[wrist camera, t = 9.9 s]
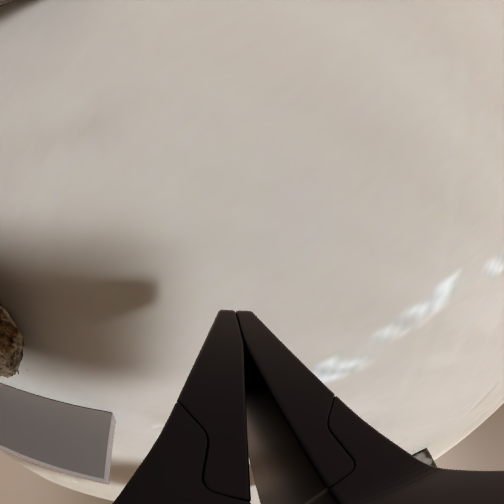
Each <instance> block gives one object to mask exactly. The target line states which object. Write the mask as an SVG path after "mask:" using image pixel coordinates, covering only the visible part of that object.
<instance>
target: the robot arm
mask: <svg viewBox="0 0 504 504" xmlns="http://www.w3.org/2000/svg"><path fill="white" fill-rule="evenodd" d="M248 455H249V456H248ZM249 459H250V464H251V468H252V472H253V476H254V480H255V484H256V488H257V491H258V495H259V499H260V503H261V504H504V471H467V470H451V469H442V468H437V467H434V466H431V465H428V464H426V463H424V462H422V461H420V460H418V459H417V458H415V457H414V456H412V455H411V454H409V453H408V452H406V451H405V450H403V449H402V448H400V447H399V446H398V445H396V444H395V443H393V442H392V441H390V440H389V439H388V438H386V437H385V436H383V435H382V434H381V433H379V432H378V431H377V430H375V429H374V428H373V427H371V426H370V425H369V424H367V423H366V422H365V421H364V420H362V419H361V418H360V417H359V416H358V415H357V414H356V413H354V412H353V411H352V410H351V409H350V408H349V407H348V406H346V405H345V404H344V403H343V402H342V401H341V400H340V399H339V398H338V397H337V396H335V397H334V393H333V392H332V391H331V390H329V389H328V388H327V387H326V386H325V385H324V384H323V383H322V382H321V381H320V380H319V379H318V378H317V377H316V376H315V375H314V374H313V373H312V372H311V371H310V370H309V369H308V368H307V367H306V366H305V365H304V364H303V363H302V362H301V361H300V360H299V359H298V358H297V357H296V356H295V355H294V354H293V353H292V352H291V351H290V350H289V349H288V348H287V347H286V346H285V345H284V344H283V343H282V342H281V341H280V340H279V339H278V338H277V337H276V336H275V335H274V334H273V333H272V332H271V331H270V330H269V329H268V328H267V327H266V326H265V325H264V324H263V323H262V322H261V321H260V320H259V319H258V318H257V316H256V315H255V314H254V313H253V312H251V311H236V313H235V311H233V310H220V311H219V312H218V314H217V316H216V318H215V321H214V323H213V325H212V327H211V329H210V331H209V333H208V335H207V338H206V340H205V342H204V344H203V346H202V348H201V350H200V353H199V355H198V357H197V359H196V361H195V363H194V365H193V368H192V370H191V372H190V374H189V376H188V378H187V380H186V383H185V385H184V387H183V389H182V391H181V393H180V395H179V398H178V400H177V403H176V404H175V406H174V408H173V410H172V412H171V414H170V416H169V418H168V420H167V422H166V424H165V426H164V428H163V430H162V432H161V434H160V435H159V437H158V439H157V440H156V442H155V444H154V445H153V447H152V448H151V450H150V452H149V453H148V455H147V456H146V458H145V459H144V460H143V462H142V463H141V465H140V466H139V468H138V469H137V470H136V472H135V473H134V475H133V476H132V478H131V479H130V480H129V482H128V483H127V485H126V486H125V488H124V489H123V490H122V492H121V493H120V495H119V496H118V497H117V498H116V500H115V501H114V503H113V504H251V503H250V501H251V495H250V476H249Z"/></svg>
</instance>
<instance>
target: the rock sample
mask: <svg viewBox="0 0 504 504" xmlns="http://www.w3.org/2000/svg"><path fill="white" fill-rule="evenodd" d="M23 347H24V338H23V337H22V335H21V334H20V332H19V329H18V328H17V327H16V325H15V323H14V321H13V320H12V319H11V318H10V317H9V314H8V312H7V311H6V310H5V309H4V308H2V307H1V305H0V376H4V377H7V378H8V377H10V376H13V375H15V374H16V371H17V372H18V367H19V364H20V362H21V360H22V357H23ZM27 371H28V370H27ZM18 374H19V372H18ZM10 383H11V382H10ZM33 411H34V410H33Z"/></svg>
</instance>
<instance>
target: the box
mask: <svg viewBox="0 0 504 504" xmlns="http://www.w3.org/2000/svg"><path fill="white" fill-rule="evenodd" d="M11 1H14V0H0V6H1V5H3V4H6V3H8V2H11ZM33 410H34V411H33ZM115 423H116V421H115V419H114V416H113V413H109V412H104V411H98V410H93V409H88V408H83V407H79V406H74V405H70V404H66V403H62V402H58V401H54V400H50V399H47V398H43V397H40V396H36V395H33V394H30V393H27V392H24V391H21V390H18V389H15V388H12V387H9V386H6V385H4V384H1V383H0V449H1V450H3V451H6V452H8V453H10V454H12V455H15V456H17V457H19V458H22V459H24V460H27V461H29V462H32V463H35V464H37V465H40V466H43V467H46V468H49V469H52V470H55V471H58V472H61V473H65V474H68V475H72V476H75V477H79V478H83V479H87V480H91V481H96V482H100V483H105V484H109V478H110V466H111V456H112V446H113V438H114V430H115Z"/></svg>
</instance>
